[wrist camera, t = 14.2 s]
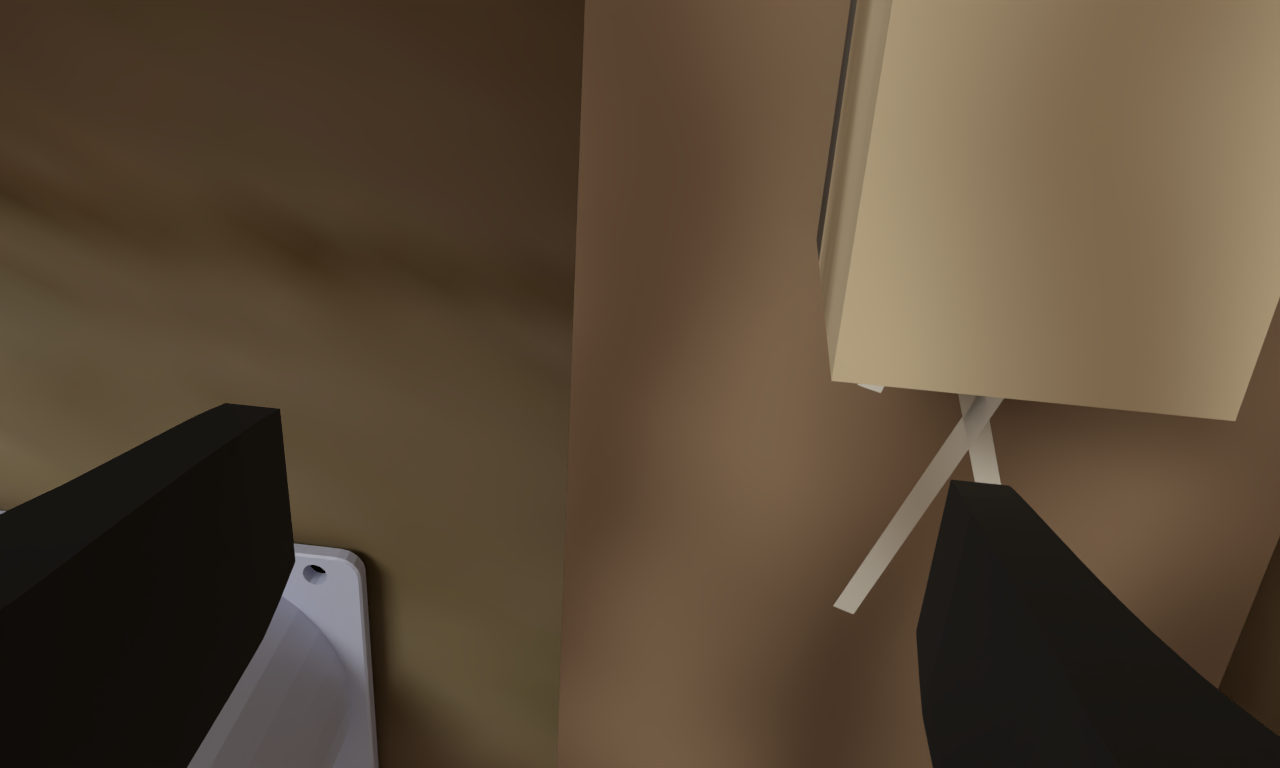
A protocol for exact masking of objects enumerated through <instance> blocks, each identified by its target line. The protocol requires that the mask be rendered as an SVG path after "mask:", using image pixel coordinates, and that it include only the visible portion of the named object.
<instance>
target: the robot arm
mask: <svg viewBox="0 0 1280 768" xmlns="http://www.w3.org/2000/svg"><path fill="white" fill-rule="evenodd" d="M310 565H316V566H319V567H321V568H322V569H323V570H324V571H325V572H326V573H319V572H316V571H315V570H314V569H313V568H311V566H310ZM916 639H917V654H918V669H919V683H920V695H921V706H922V717H923V722H924V727H925V732H926V737H927V742H928V747H929V751H930V756H931V761H932V766H933V768H1280V737H1279V736H1277V735H1276V734H1275V733H1273V732H1272V731H1271V730H1269V729H1268V728H1267V727H1266V726H1264V725H1263V724H1262V723H1260V722H1259V721H1258V720H1256V719H1255V718H1254V717H1253V716H1251V715H1250V714H1249V713H1247V712H1246V711H1245V710H1244V709H1242V708H1241V707H1240V706H1238V705H1237V704H1236V703H1234V702H1233V701H1232V700H1231V699H1229V698H1228V697H1227V696H1225V695H1224V694H1223V693H1222V692H1221V691H1219V690H1218V689H1217V688H1216V687H1215V686H1213V685H1212V684H1211V683H1210V682H1209V681H1207V680H1206V679H1205V678H1204V677H1203V676H1201V675H1200V674H1199V673H1198V672H1197V671H1196V670H1195V669H1193V668H1192V667H1191V666H1190V665H1189V664H1188V663H1187V662H1186V661H1185V660H1183V659H1182V658H1181V657H1180V656H1179V655H1178V654H1177V653H1176V652H1175V651H1173V650H1172V649H1171V648H1170V647H1169V646H1168V645H1167V644H1166V643H1164V642H1163V641H1162V640H1161V639H1160V638H1159V637H1158V636H1157V635H1156V634H1154V633H1153V632H1152V631H1151V630H1150V629H1149V628H1148V627H1147V626H1146V625H1145V624H1144V623H1143V622H1142V621H1141V620H1140V619H1139V618H1138V617H1137V616H1136V615H1134V614H1133V613H1132V612H1131V611H1130V610H1129V609H1128V608H1127V607H1126V606H1125V605H1124V604H1123V603H1122V602H1121V601H1120V600H1119V599H1118V598H1117V597H1116V596H1115V595H1114V594H1113V593H1112V592H1111V591H1110V590H1109V589H1108V588H1107V587H1106V586H1105V585H1104V584H1103V583H1102V582H1101V581H1100V580H1099V579H1098V578H1097V577H1096V576H1095V575H1094V574H1093V572H1092V571H1091V570H1090V569H1089V568H1088V567H1087V566H1086V565H1085V564H1084V563H1083V562H1082V561H1081V560H1080V559H1079V558H1078V557H1077V556H1076V555H1075V554H1074V553H1073V551H1072V550H1071V549H1070V548H1069V547H1068V546H1067V545H1066V544H1065V543H1064V542H1063V541H1062V540H1061V539H1060V538H1059V537H1058V535H1057V534H1056V533H1055V532H1054V531H1053V530H1052V529H1051V528H1050V527H1049V526H1048V525H1047V524H1046V523H1045V521H1044V520H1043V519H1042V518H1041V517H1040V516H1039V515H1038V514H1037V513H1036V512H1035V511H1034V510H1033V509H1032V508H1031V506H1030V505H1029V504H1028V503H1027V502H1026V501H1025V500H1024V499H1023V498H1022V497H1021V496H1020V495H1019V494H1018V493H1017V492H1016V491H1015V490H1014V489H1013V488H1012V487H1011V486H1008V485H999V484H989V483H980V482H970V481H961V480H951V481H950V485H949V489H948V494H947V498H946V502H945V507H944V511H943V516H942V520H941V524H940V529H939V533H938V538H937V542H936V546H935V551H934V555H933V559H932V564H931V568H930V573H929V577H928V581H927V586H926V590H925V594H924V599H923V603H922V608H921V612H920V616H919V621H918V625H917V630H916ZM0 768H379V765H378V750H377V735H376V720H375V705H374V690H373V675H372V660H371V645H370V630H369V615H368V600H367V585H366V570H365V567H364V563H363V562H362V560H361V559H360V558H359V557H358V556H357V555H355V554H354V553H352V552H351V551H348V550H344V549H339V548H330V547H321V546H312V545H303V544H294V541H293V532H292V522H291V512H290V502H289V493H288V483H287V473H286V463H285V454H284V444H283V434H282V424H281V415H280V409H276V408H266V407H257V406H247V405H238V404H228V403H225V404H223V405H220V406H218V407H215V408H213V409H210V410H208V411H206V412H204V413H201V414H199V415H197V416H195V417H193V418H191V419H189V420H187V421H185V422H183V423H181V424H179V425H177V426H175V427H173V428H171V429H169V430H167V431H165V432H164V433H162V434H160V435H158V436H156V437H154V438H152V439H150V440H148V441H146V442H144V443H143V444H141V445H139V446H137V447H135V448H133V449H131V450H129V451H127V452H125V453H123V454H121V455H120V456H118V457H116V458H114V459H112V460H110V461H108V462H106V463H104V464H102V465H100V466H98V467H96V468H94V469H93V470H91V471H89V472H87V473H85V474H83V475H81V476H79V477H77V478H75V479H73V480H71V481H69V482H67V483H65V484H63V485H61V486H59V487H57V488H55V489H53V490H51V491H49V492H46V493H44V494H42V495H40V496H38V497H36V498H34V499H32V500H29V501H27V502H25V503H23V504H21V505H19V506H17V507H15V508H13V509H10V510H8V511H0Z"/></svg>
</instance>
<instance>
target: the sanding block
mask: <svg viewBox="0 0 1280 768" xmlns="http://www.w3.org/2000/svg"><path fill="white" fill-rule="evenodd" d="M816 240H817V250H818V259H819V269H820V278H821V287H822V297H823V306H824V315H825V325H826V334H827V344H828V353H829V362H830V372H831V381H837V382H847V383H857V384H867V385H877V386H887V387H897V388H907V389H917V390H927V391H938V392H948V393H958V394H968V395H978V396H988V397H998V398H1008V399H1018V400H1028V401H1038V402H1048V403H1058V404H1068V405H1078V406H1088V407H1098V408H1108V409H1118V410H1128V411H1138V412H1148V413H1158V414H1168V415H1178V416H1188V417H1198V418H1208V419H1218V420H1228V421H1235V420H1236V418H1237V415H1238V412H1239V409H1240V406H1241V404H1242V401H1243V398H1244V395H1245V393H1246V390H1247V387H1248V384H1249V381H1250V379H1251V376H1252V373H1253V370H1254V367H1255V365H1256V362H1257V359H1258V356H1259V354H1260V351H1261V348H1262V345H1263V342H1264V340H1265V337H1266V334H1267V331H1268V328H1269V326H1270V323H1271V320H1272V317H1273V315H1274V312H1275V309H1276V306H1277V303H1278V301H1279V298H1280V0H851V2H850V9H849V16H848V23H847V30H846V37H845V44H844V51H843V58H842V65H841V72H840V79H839V86H838V93H837V100H836V107H835V114H834V120H833V127H832V134H831V141H830V148H829V155H828V162H827V169H826V176H825V183H824V190H823V197H822V204H821V211H820V218H819V225H818V232H817V239H816Z"/></svg>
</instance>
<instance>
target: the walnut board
mask: <svg viewBox="0 0 1280 768" xmlns="http://www.w3.org/2000/svg"><path fill="white" fill-rule="evenodd" d="M850 2H851V0H585V20H584V47H583V74H582V101H581V128H580V155H579V182H578V209H577V236H576V263H575V290H574V317H573V344H572V371H571V397H570V424H569V451H568V478H567V505H566V532H565V559H564V586H563V613H562V640H561V667H560V694H559V721H558V748H557V768H933V766H932V761H931V756H930V751H929V747H928V742H927V737H926V732H925V727H924V722H923V717H922V706H921V695H920V683H919V669H918V654H917V639H916V630H917V625H918V621H919V616H920V612H921V608H922V603H923V599H924V594H925V590H926V586H927V581H928V577H929V573H930V568H931V564H932V559H933V555H934V551H935V546H936V542H937V538H938V533H939V529H940V524H941V520H942V516H943V511H944V507H945V502H946V498H947V494H948V489H949V485H950V481H951V480H961V481H970V482H980V483H989V484H999V485H1008V486H1011V487H1012V488H1013V489H1014V490H1015V491H1016V492H1017V493H1018V494H1019V495H1020V496H1021V497H1022V498H1023V499H1024V500H1025V501H1026V502H1027V503H1028V504H1029V505H1030V506H1031V508H1032V509H1033V510H1034V511H1035V512H1036V513H1037V514H1038V515H1039V516H1040V517H1041V518H1042V519H1043V520H1044V521H1045V523H1046V524H1047V525H1048V526H1049V527H1050V528H1051V529H1052V530H1053V531H1054V532H1055V533H1056V534H1057V535H1058V537H1059V538H1060V539H1061V540H1062V541H1063V542H1064V543H1065V544H1066V545H1067V546H1068V547H1069V548H1070V549H1071V550H1072V551H1073V553H1074V554H1075V555H1076V556H1077V557H1078V558H1079V559H1080V560H1081V561H1082V562H1083V563H1084V564H1085V565H1086V566H1087V567H1088V568H1089V569H1090V570H1091V571H1092V572H1093V574H1094V575H1095V576H1096V577H1097V578H1098V579H1099V580H1100V581H1101V582H1102V583H1103V584H1104V585H1105V586H1106V587H1107V588H1108V589H1109V590H1110V591H1111V592H1112V593H1113V594H1114V595H1115V596H1116V597H1117V598H1118V599H1119V600H1120V601H1121V602H1122V603H1123V604H1124V605H1125V606H1126V607H1127V608H1128V609H1129V610H1130V611H1131V612H1132V613H1133V614H1134V615H1136V616H1137V617H1138V618H1139V619H1140V620H1141V621H1142V622H1143V623H1144V624H1145V625H1146V626H1147V627H1148V628H1149V629H1150V630H1151V631H1152V632H1153V633H1154V634H1156V635H1157V636H1158V637H1159V638H1160V639H1161V640H1162V641H1163V642H1164V643H1166V644H1167V645H1168V646H1169V647H1170V648H1171V649H1172V650H1173V651H1175V652H1176V653H1177V654H1178V655H1179V656H1180V657H1181V658H1182V659H1183V660H1185V661H1186V662H1187V663H1188V664H1189V665H1190V666H1191V667H1192V668H1193V669H1195V670H1196V671H1197V672H1198V673H1199V674H1200V675H1201V676H1203V677H1204V678H1205V679H1206V680H1207V681H1209V682H1210V683H1211V684H1212V685H1213V686H1215V687H1216V688H1217V689H1218V688H1219V685H1220V683H1221V680H1222V678H1223V675H1224V673H1225V671H1226V668H1227V666H1228V663H1229V661H1230V658H1231V656H1232V653H1233V651H1234V648H1235V646H1236V643H1237V641H1238V638H1239V636H1240V633H1241V631H1242V628H1243V626H1244V623H1245V621H1246V619H1247V616H1248V614H1249V611H1250V609H1251V606H1252V604H1253V601H1254V599H1255V596H1256V594H1257V591H1258V589H1259V586H1260V584H1261V581H1262V579H1263V576H1264V574H1265V571H1266V569H1267V566H1268V564H1269V562H1270V559H1271V557H1272V554H1273V552H1274V549H1275V547H1276V544H1277V542H1278V539H1279V537H1280V298H1279V301H1278V303H1277V306H1276V309H1275V312H1274V315H1273V317H1272V320H1271V323H1270V326H1269V328H1268V331H1267V334H1266V337H1265V340H1264V342H1263V345H1262V348H1261V351H1260V354H1259V356H1258V359H1257V362H1256V365H1255V367H1254V370H1253V373H1252V376H1251V379H1250V381H1249V384H1248V387H1247V390H1246V393H1245V395H1244V398H1243V401H1242V404H1241V406H1240V409H1239V412H1238V415H1237V418H1236V420H1235V421H1228V420H1218V419H1208V418H1198V417H1188V416H1178V415H1168V414H1158V413H1148V412H1138V411H1128V410H1118V409H1108V408H1098V407H1088V406H1078V405H1068V404H1058V403H1048V402H1038V401H1028V400H1018V399H1008V398H998V397H988V396H978V395H968V394H958V393H948V392H938V391H927V390H917V389H907V388H897V387H887V386H877V385H867V384H857V383H847V382H837V381H831V372H830V362H829V353H828V344H827V334H826V325H825V315H824V306H823V297H822V287H821V278H820V269H819V259H818V250H817V240H816V239H817V232H818V225H819V218H820V211H821V204H822V197H823V190H824V183H825V176H826V169H827V162H828V155H829V148H830V141H831V134H832V127H833V120H834V114H835V107H836V100H837V93H838V86H839V79H840V72H841V65H842V58H843V51H844V44H845V37H846V30H847V23H848V16H849V9H850Z"/></svg>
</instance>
